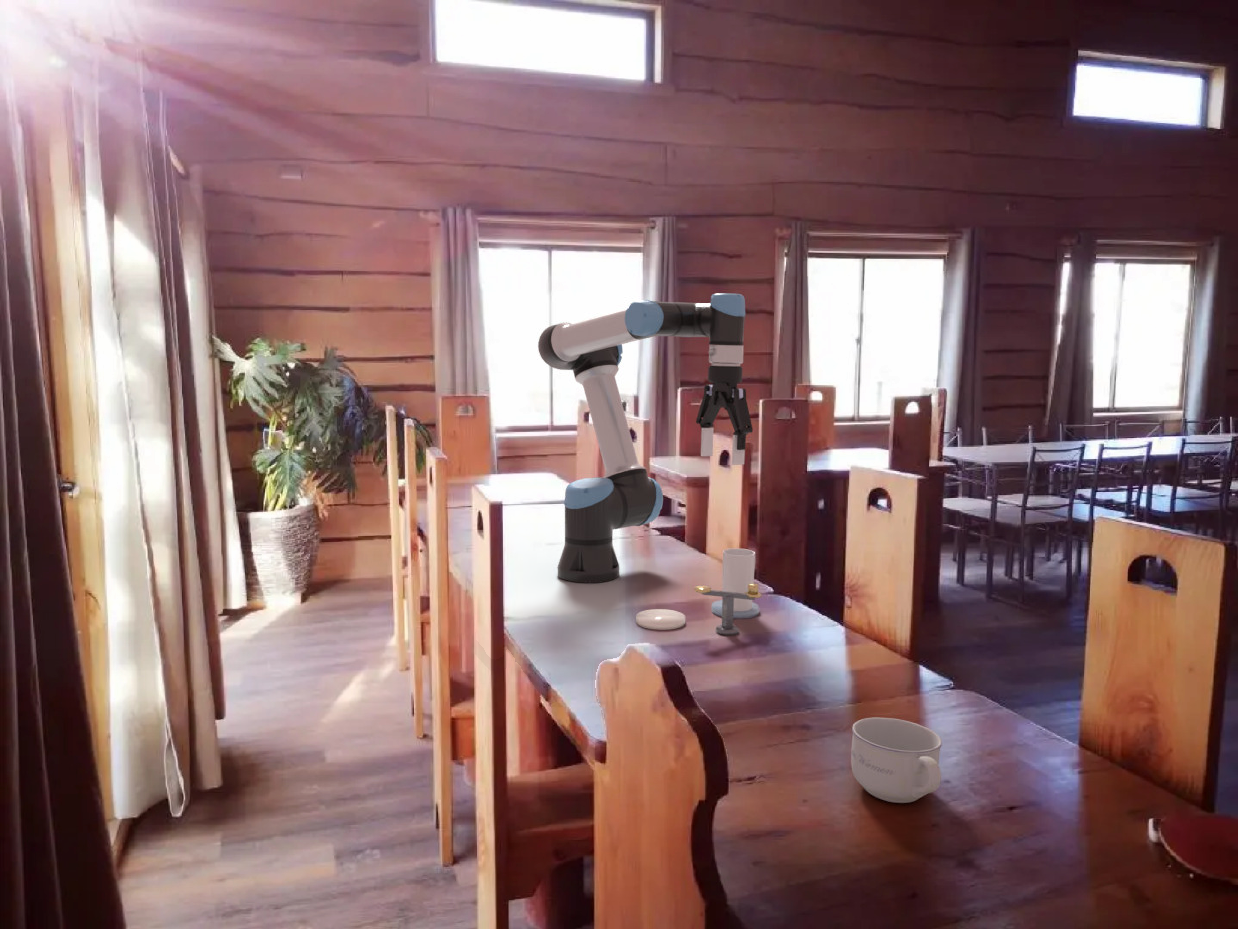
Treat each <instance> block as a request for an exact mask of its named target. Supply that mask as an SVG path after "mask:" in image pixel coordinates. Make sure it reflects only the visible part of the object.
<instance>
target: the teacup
mask: <svg viewBox="0 0 1238 929" xmlns="http://www.w3.org/2000/svg"><path fill="white" fill-rule="evenodd" d="M851 731H852V737H851V738H852V740H851V751H850V754H851V755H850V757H851V758H850V763H851V764H850V765H851V772H852V774H853V776H854V778H855V780H856V781H857V782H858V783H859V784H860V785H861V786H862V787H863V789H864V790H865V791H866V792H867V793H868V794H870V795H872V796H873V797H874V798H876V799H880V800H883V801H886V802H890V803H897V804H898V803H899V804H907V803H913V802H915V801H917V800H919V799H920V798H922V797H924V796H926V795H927V794H931V793H934V792H935V791H937V790H938V789H939V787H940V785H941V782H942V772H941V769H940V766H939V764H940V763H939V762H940V761H939V760H940V754H941V753H940V752H941V747H942V745H943V742H942V739H941V737H940V736H939V735H938V734H937V733H936V732H935V731H933V730H931V729H930V728H928V727H926V726H924V725H921V724H919V723H916V722H912V721H909V720H904V719H899V718H891V717H878V716H877V717H876V716H875V717H874V716H873V717H866V718H862V719H860V720H859V719H858V720H857V721H855V722H854V723H853V725H852V728H851Z"/></svg>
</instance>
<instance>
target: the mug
mask: <svg viewBox="0 0 1238 929" xmlns="http://www.w3.org/2000/svg"><path fill="white" fill-rule="evenodd" d="M755 564H756V552H755V551H753V550H751V549H746V548H738V547H736V548H733V547H732V548H726V549H724V550H722V572H721V573H722V577H721V578H722V579H721V580H722V584H721V585H722V586H721V587H722V590H721V591H726V592H735V593H744V594H745V592H748V584H750V583H754V581H755ZM752 602H753V600H747V599H738V598H734V610H733V611H736V612H743V611H749V610H751V609H752Z"/></svg>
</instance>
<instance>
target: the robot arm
mask: <svg viewBox="0 0 1238 929" xmlns="http://www.w3.org/2000/svg"><path fill="white" fill-rule="evenodd" d="M745 301H746V299H745V297H744V295H743V294H740V293H728V292H727V293H726V292H725V293H722V292H721V293H713V294H711V296H710V302H708V303H704V302H703V303H701V302H679V301H677V302H676V301H674V302H673V301H672V302H671V301H657V300H650V299H646V300H645V299H644V300H636V301H633V302H632V303H630V305H629V306H628V307H627V308H624V309H621V310H617V311H614V312H610V313H607V314H603V315H599V316H596V317H593V318H589V319H585V320H583V321H579V322H575V323H571V322H567V321H565V322H560V323H557V324H552V325H551V326H548V327H546V328H545V329H544V330H543V331H542V332H541V334H540V336H539V338H538V339H539V340H538V344H537V345H538V346H537V347H538V353H539V356H540V358H541V359H542V360H543V362H544V364H545V363H546V364H547V365H548V366H549V367H551V368H553V369H556V370H563V371H572V373H573V375H574V380H575V381H576V382H577V383H578V384H580V385H582V387H583V390H584V395H585V398H586V403H587V406H588V410H589V413H590V417H591V421H592V425H593V429H594V432H595V436H596V440H597V444H598V447H599V452H600V455H601V459H602V463H603V466H604V470H605V473H604V476H601V477H591V478H589V477H587V478H581V479H578V480H574V481H572V482H571V483H569V484H568V485H567V486H566V488H565V491H564V492H565V494H564V501H563V506H564V545H563V549H562V553H561V554H560V559H559V560H558V561H559V562H558V563H557V576H558V577H559V579H562V580H564V581H569V582H574V583H585V584H586V583H591V584H592V583H602V582H609V581H613V580H615V579H617V578H619V577H620V563H619V560H618V557H617V554H616V550H615V548H614V545H613V535H614V534H613V533H614V532H613V530H617V529H618V530H619V529H624V528H625V529H626V528H629V527H630V528H631V527H640V526H643V525H647V524H650V523H652V522H653V521H655V520H656V519H657V518H658V517H659V515H660V513H661V510H662V508H663V503H664V494H663V490H662V488H661V485H660V484H659V482H657V481H656V479H655V478H651V477H649V475H648V472H647V468H646V467H645V466H643V465H641V464H640V463H639V461H638V457H637V453H636V450H635V446H634V443H633V439H632V435H631V432H630V429H629V428H630V427H629V425H628V420H627V416H626V413H625V409H624V406H623V402H622V399H621V394H620V391H619V388H618V384H617V380H616V375H617V374H618V372H619V370H620V368H619V365H620V363H621V362H622V358H623V357H622V355H623V345H624V344H628V343H632V342H636V341H640V340H645V339H650V338H655V337H681V338H691V337H692V338H701V337H702V338H703V337H704V338H709V340H708V343H709V344H708V345H709V349H708V362H709V363H710V364H711V365H709V366H708V367H707V368H708V370H707V371H708V372H707V381H708V382H709V383H711V384H705V385H704V389H703V396H702V398H701V402H700V405H699V410H698V412H697V417H696V419H695V423H696V424H697V425H699V427H700V428H701V430H700V432H701V435H700V440H701V441H700V456H701V457H713V456H714V455H713V453H714V452H713V451H714V450H713V449H714V426H715V425H714V422H715V421H716V419H717V416H718V414H719V413H720V410H721V408H723V409H724V410H725V411H727V414H728V417H729V420H730V421H731V425H732V427H733V430H734V431H733V432H732V447H731V448H732V449H731V451H732V452H731V465H732V466H738V465H740V466H741V465H745V455H746V444H747V435H748V434H749V433H750V434H752V433H753V430H754V429H753V425H752V420H751V416H750V410H749V406H748V402H747V389H746V388H738V384H740V383H742V382H743V369H744V368H743V367H742V366H741V364H743V363H744V340H745V339H744V335H745V334H744V332H745V323H746V322H745V321H746V302H745Z"/></svg>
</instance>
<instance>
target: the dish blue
mask: <svg viewBox="0 0 1238 929" xmlns="http://www.w3.org/2000/svg"><path fill="white" fill-rule="evenodd" d="M711 613H713V615H716V616H719V617H721V618H722V599H720V600H716V601H714V602H712V604H711ZM759 614H760V605H758V603H755V602H753V601H752V609H751V610H749V611H743V612H736V611H733V619H750V618H755V617H757V616H758V615H759Z"/></svg>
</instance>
